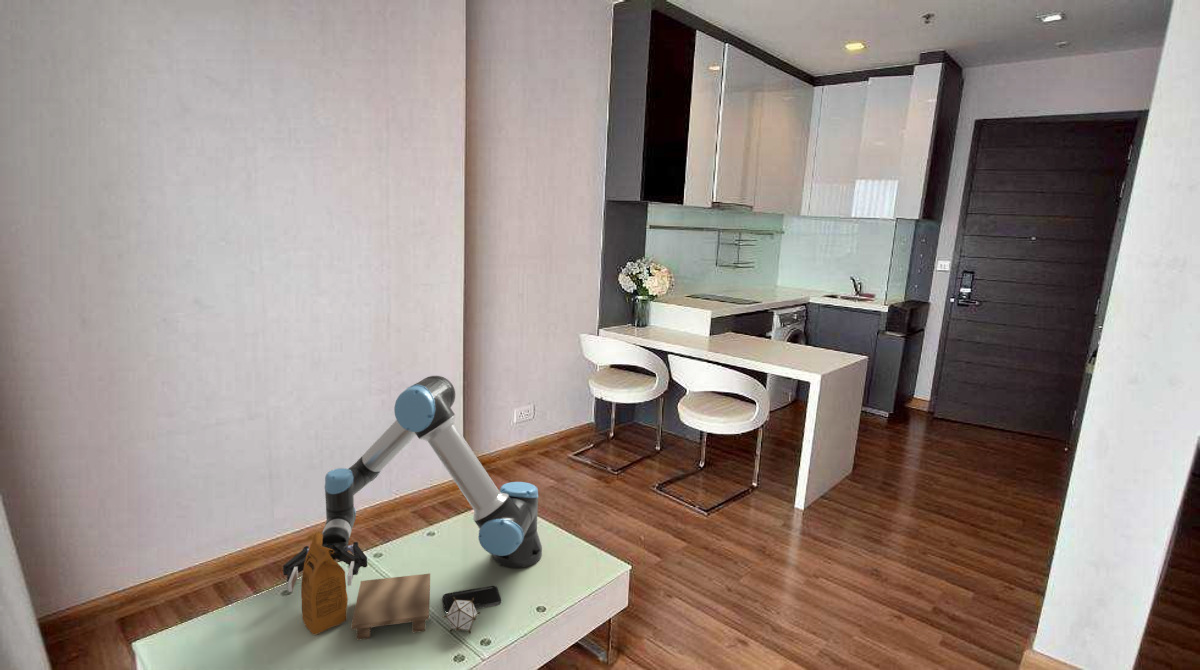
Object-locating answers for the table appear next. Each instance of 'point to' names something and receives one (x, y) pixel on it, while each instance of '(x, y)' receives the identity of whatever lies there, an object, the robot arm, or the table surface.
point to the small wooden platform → (392, 603)
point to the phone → (480, 595)
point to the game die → (461, 615)
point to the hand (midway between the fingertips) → (319, 583)
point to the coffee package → (322, 589)
